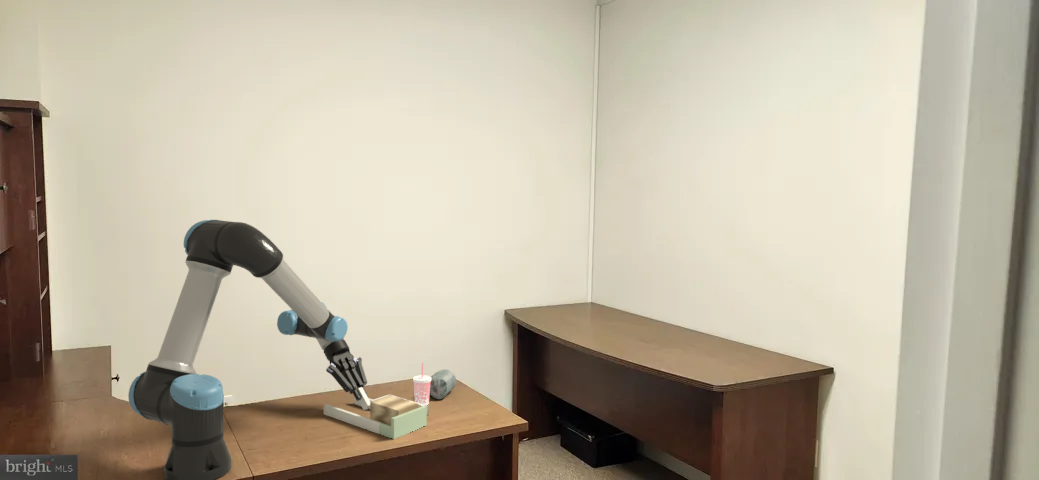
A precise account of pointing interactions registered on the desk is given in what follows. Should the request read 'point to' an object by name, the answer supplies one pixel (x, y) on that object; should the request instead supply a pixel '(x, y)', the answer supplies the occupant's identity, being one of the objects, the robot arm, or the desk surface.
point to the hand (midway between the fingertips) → (367, 407)
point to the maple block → (389, 408)
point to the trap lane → (398, 423)
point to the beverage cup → (422, 388)
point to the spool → (442, 383)
